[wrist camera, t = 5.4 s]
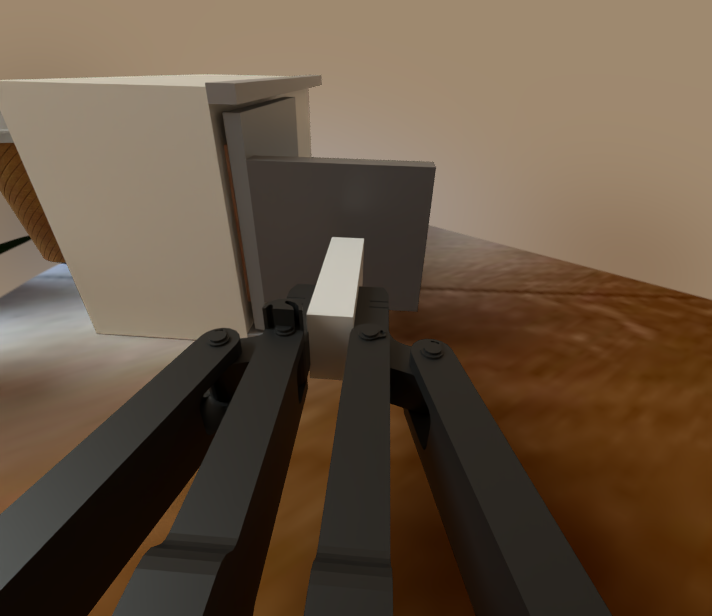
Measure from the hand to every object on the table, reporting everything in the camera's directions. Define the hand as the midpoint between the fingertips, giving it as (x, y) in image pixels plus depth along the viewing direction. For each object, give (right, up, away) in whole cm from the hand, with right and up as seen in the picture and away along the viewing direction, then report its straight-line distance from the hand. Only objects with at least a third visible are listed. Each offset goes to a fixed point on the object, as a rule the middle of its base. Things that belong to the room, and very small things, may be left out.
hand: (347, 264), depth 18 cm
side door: (-1, -1, +10) cm, 10 cm away
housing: (-11, +2, +16) cm, 19 cm away
